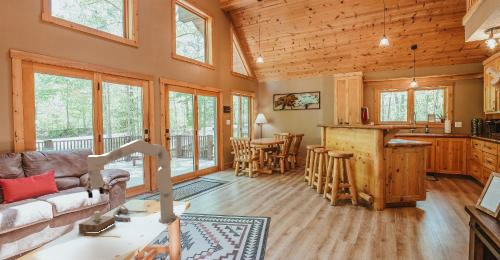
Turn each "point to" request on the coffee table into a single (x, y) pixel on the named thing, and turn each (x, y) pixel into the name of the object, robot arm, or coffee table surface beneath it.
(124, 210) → the faucet
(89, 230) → the socket block
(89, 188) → the robot arm
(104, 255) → the coffee table surface
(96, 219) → the peg
